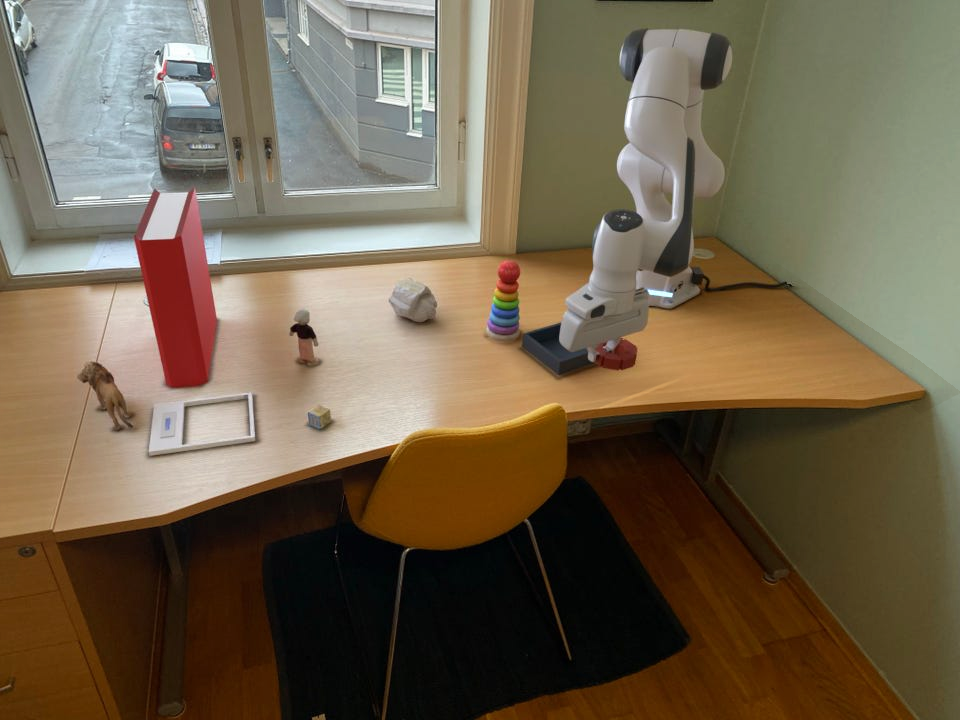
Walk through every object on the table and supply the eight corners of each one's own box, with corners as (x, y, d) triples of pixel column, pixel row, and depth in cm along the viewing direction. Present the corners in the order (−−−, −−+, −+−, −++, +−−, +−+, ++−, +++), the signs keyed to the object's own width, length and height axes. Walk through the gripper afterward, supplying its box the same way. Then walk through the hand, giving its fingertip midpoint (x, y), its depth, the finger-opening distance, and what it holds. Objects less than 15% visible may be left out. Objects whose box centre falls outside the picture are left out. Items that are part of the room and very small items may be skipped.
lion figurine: (82, 403, 141) (70, 364, 136) (109, 392, 144) (99, 353, 139) (120, 436, 133) (109, 396, 128) (148, 423, 136) (138, 383, 132)
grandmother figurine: (326, 360, 158) (323, 308, 151) (317, 369, 155) (313, 317, 148) (295, 352, 160) (290, 301, 153) (286, 361, 157) (280, 309, 150)
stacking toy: (516, 346, 167) (523, 272, 157) (482, 341, 168) (487, 267, 158) (522, 329, 173) (528, 257, 163) (489, 324, 175) (494, 252, 165)
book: (180, 322, 168) (154, 188, 151) (217, 319, 170) (194, 187, 153) (165, 388, 146) (132, 240, 129) (207, 385, 148) (180, 238, 131)
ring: (614, 342, 153) (615, 332, 152) (644, 362, 147) (646, 352, 146) (580, 352, 149) (581, 342, 148) (610, 374, 142) (612, 364, 141)
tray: (580, 331, 174) (582, 315, 172) (618, 357, 165) (621, 341, 163) (521, 349, 166) (522, 333, 164) (557, 378, 156) (559, 362, 154)
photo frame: (154, 403, 140) (251, 391, 144) (155, 408, 140) (252, 396, 145) (148, 450, 128) (254, 436, 133) (149, 455, 129) (255, 441, 133)
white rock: (430, 330, 171) (441, 314, 180) (434, 298, 167) (445, 283, 176) (381, 319, 173) (394, 303, 181) (384, 287, 169) (397, 272, 177)
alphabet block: (308, 424, 139) (307, 411, 137) (319, 416, 141) (318, 403, 139) (320, 430, 137) (319, 417, 136) (331, 422, 140) (330, 409, 138)
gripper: (638, 279, 146) (627, 338, 153) (558, 300, 136) (550, 362, 143) (661, 291, 141) (648, 352, 149) (580, 314, 131) (570, 378, 139)
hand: (600, 357), depth 146 cm, fingers closed on ring, 2 cm apart
